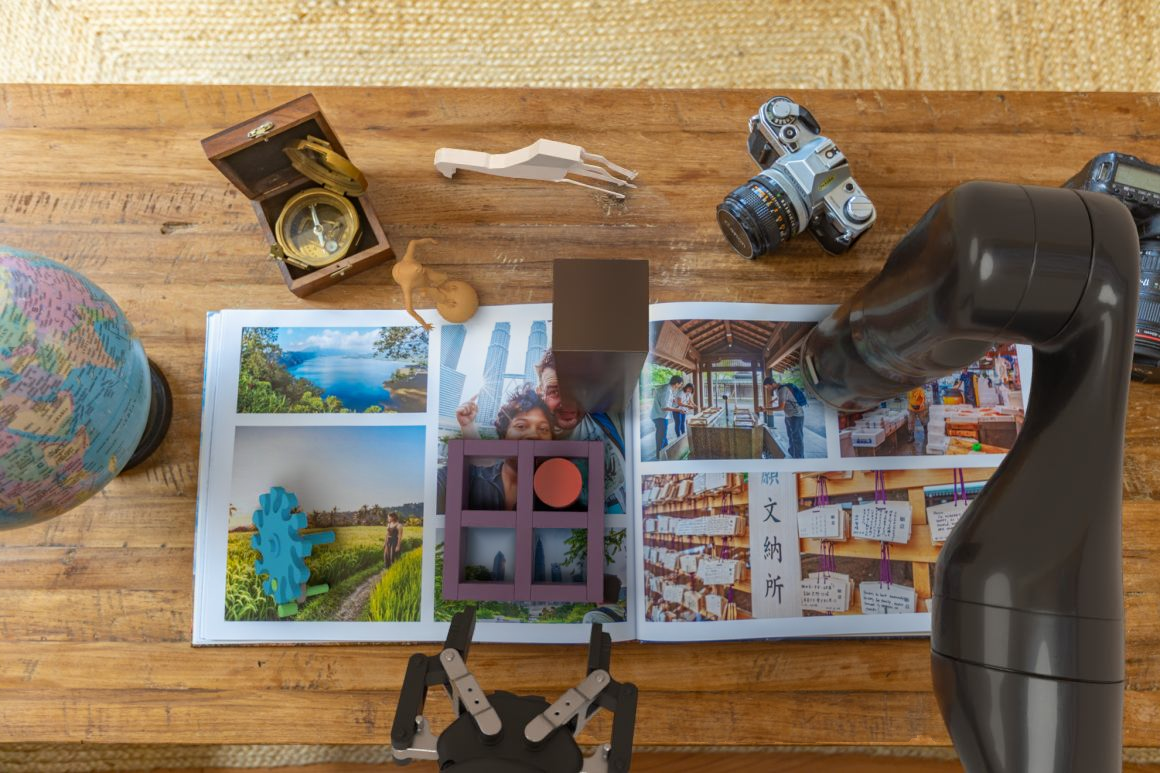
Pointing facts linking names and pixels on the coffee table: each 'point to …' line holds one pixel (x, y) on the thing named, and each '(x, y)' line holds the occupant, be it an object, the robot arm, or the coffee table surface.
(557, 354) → the stand
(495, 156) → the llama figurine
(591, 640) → the robot arm
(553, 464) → the red cylinder
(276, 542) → the gear
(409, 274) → the figurine
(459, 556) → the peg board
